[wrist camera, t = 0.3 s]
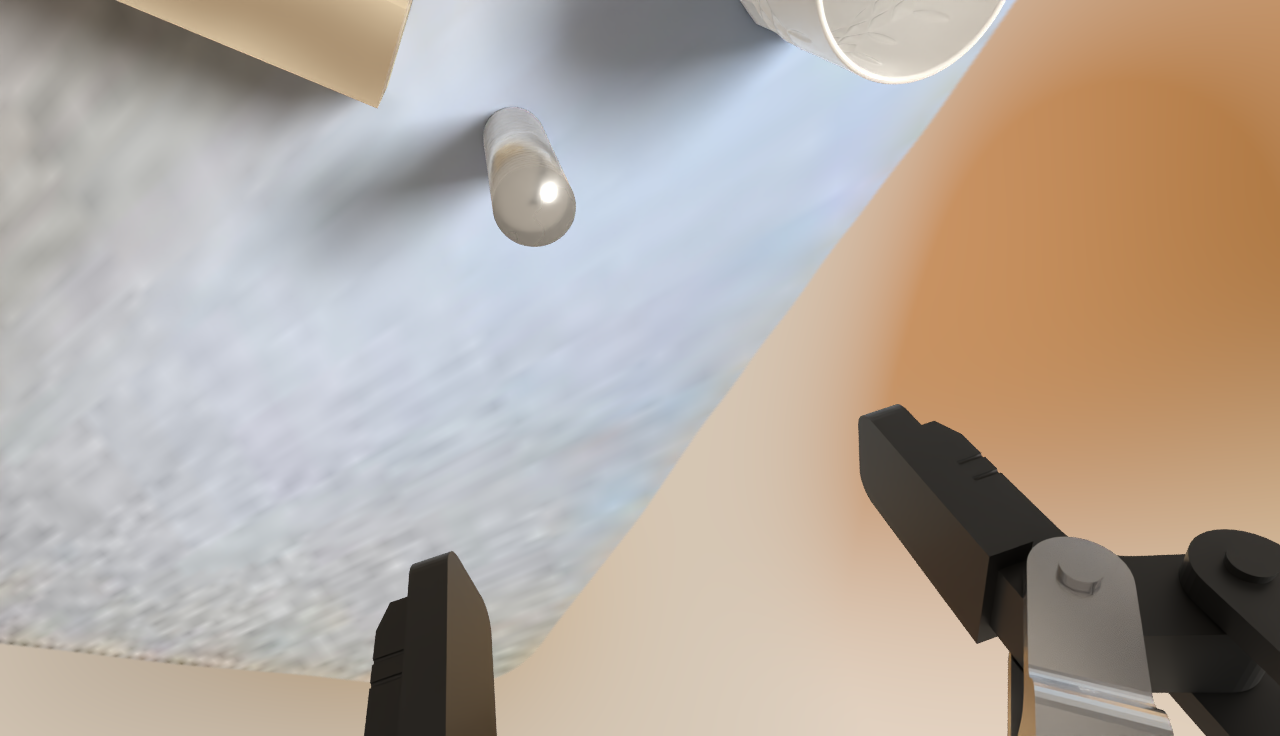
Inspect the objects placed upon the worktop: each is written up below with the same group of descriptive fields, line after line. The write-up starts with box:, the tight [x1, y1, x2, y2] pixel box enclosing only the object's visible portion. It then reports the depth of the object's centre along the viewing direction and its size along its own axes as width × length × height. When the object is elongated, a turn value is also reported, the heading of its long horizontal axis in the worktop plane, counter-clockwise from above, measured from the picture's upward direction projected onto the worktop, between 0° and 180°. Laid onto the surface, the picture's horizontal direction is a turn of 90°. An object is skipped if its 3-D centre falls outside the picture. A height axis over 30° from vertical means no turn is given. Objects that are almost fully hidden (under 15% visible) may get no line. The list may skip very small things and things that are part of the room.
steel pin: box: [483, 107, 576, 247], centre depth 28 cm, size 3×3×10 cm
